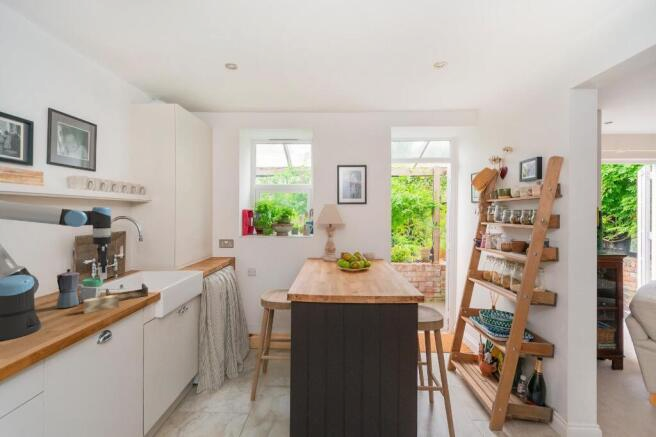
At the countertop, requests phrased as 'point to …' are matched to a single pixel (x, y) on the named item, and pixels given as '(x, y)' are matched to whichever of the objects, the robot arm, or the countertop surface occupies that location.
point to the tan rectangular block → (100, 303)
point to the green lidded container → (93, 282)
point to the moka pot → (68, 289)
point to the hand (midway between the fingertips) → (102, 277)
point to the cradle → (131, 293)
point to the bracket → (88, 292)
